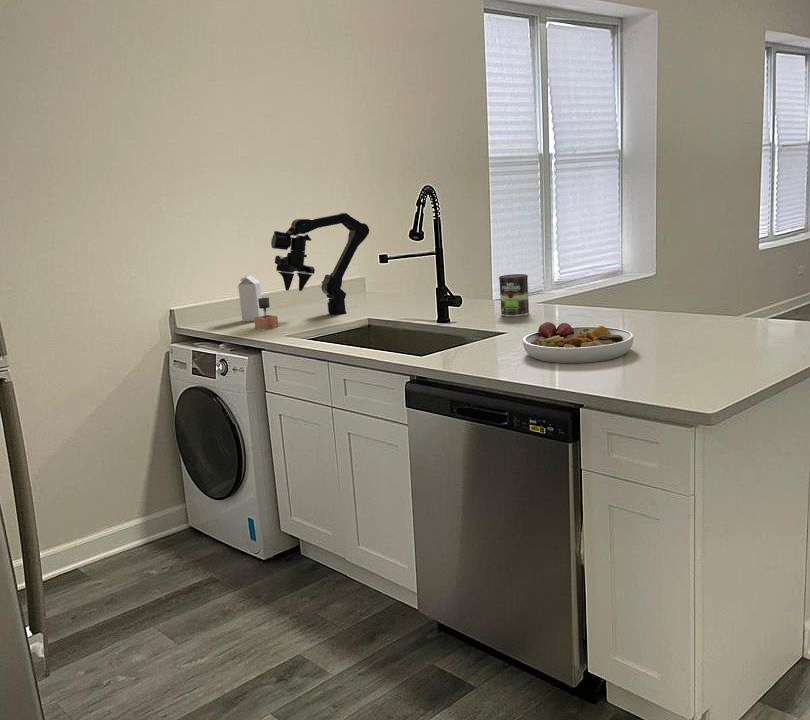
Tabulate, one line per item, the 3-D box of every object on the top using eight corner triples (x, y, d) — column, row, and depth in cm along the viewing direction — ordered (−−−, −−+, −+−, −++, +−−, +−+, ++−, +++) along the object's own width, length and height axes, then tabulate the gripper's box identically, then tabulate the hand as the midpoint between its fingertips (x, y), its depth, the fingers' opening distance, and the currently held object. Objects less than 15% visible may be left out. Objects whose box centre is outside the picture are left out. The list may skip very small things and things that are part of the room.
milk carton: (264, 318, 346) (258, 272, 342) (259, 321, 339) (254, 274, 335) (247, 319, 347) (241, 273, 343) (242, 322, 340) (236, 275, 336)
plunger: (268, 322, 324) (265, 297, 322) (273, 323, 321) (270, 297, 319) (259, 324, 321) (256, 298, 319) (264, 324, 318) (261, 299, 316)
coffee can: (525, 316, 299) (523, 277, 296) (497, 317, 303) (495, 278, 300) (532, 311, 308) (530, 273, 305) (505, 312, 312) (503, 274, 309)
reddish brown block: (269, 325, 326) (268, 314, 325) (282, 327, 319) (281, 316, 318) (255, 328, 322) (253, 317, 321) (267, 330, 315) (266, 319, 314)
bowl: (657, 350, 231) (656, 322, 229) (580, 372, 214) (579, 341, 212) (575, 339, 255) (574, 313, 253) (501, 357, 238) (500, 330, 237)
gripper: (294, 250, 343) (290, 288, 345) (266, 247, 326) (263, 287, 328) (317, 253, 338) (313, 291, 340) (290, 250, 322) (286, 291, 323)
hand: (293, 290), depth 333 cm, fingers open, 9 cm apart
